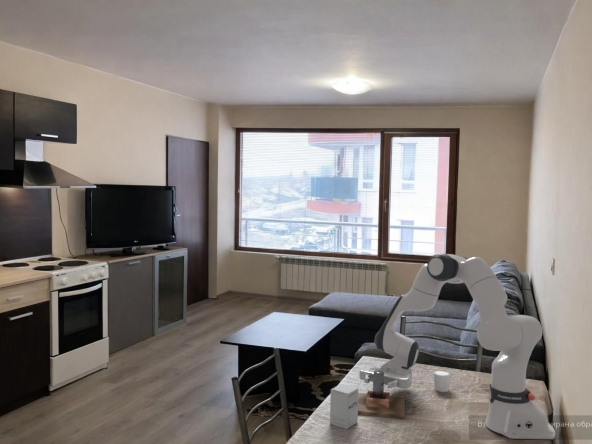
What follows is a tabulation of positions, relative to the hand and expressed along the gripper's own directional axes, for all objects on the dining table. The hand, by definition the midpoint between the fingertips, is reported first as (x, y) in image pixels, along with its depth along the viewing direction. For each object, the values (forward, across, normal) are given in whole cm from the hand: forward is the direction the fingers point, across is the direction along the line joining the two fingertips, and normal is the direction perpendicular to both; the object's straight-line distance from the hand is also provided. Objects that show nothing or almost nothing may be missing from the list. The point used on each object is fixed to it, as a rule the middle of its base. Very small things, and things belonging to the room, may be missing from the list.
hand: (377, 383), depth 203 cm
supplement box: (+20, -4, +9) cm, 22 cm away
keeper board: (-1, 0, +9) cm, 9 cm away
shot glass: (-32, +15, +10) cm, 37 cm away
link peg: (-1, 0, +8) cm, 8 cm away
